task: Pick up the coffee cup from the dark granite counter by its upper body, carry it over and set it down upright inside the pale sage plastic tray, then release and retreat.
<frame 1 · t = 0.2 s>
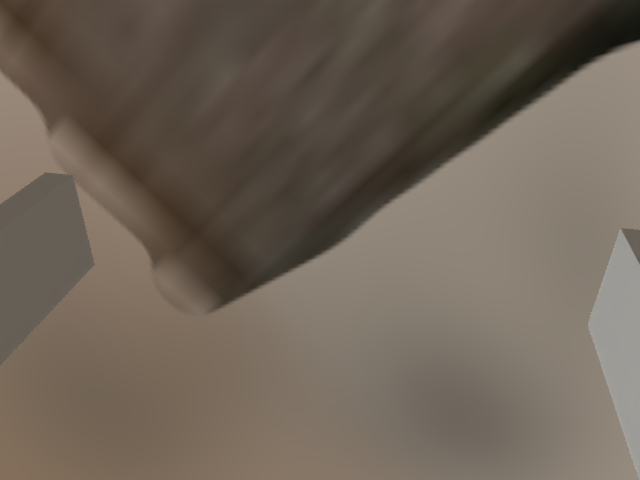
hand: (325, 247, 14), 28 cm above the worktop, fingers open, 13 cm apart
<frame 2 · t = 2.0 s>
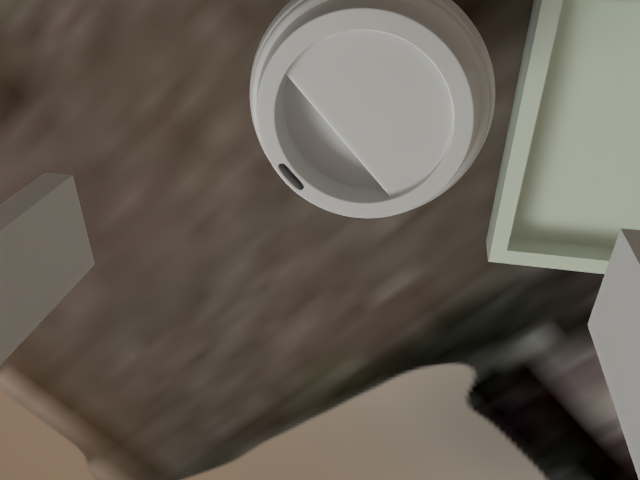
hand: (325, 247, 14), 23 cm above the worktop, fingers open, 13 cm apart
coffee cup: (392, 32, 33), on the worktop
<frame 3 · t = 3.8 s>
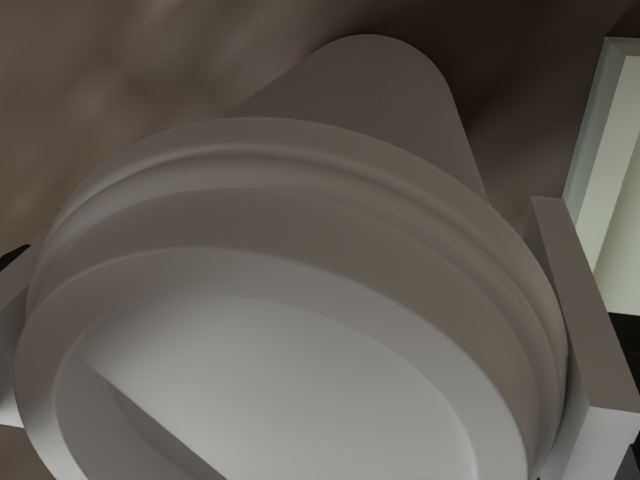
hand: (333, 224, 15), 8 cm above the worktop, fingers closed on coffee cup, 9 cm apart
coffee cup: (367, 121, 21), on the worktop, touching gripper
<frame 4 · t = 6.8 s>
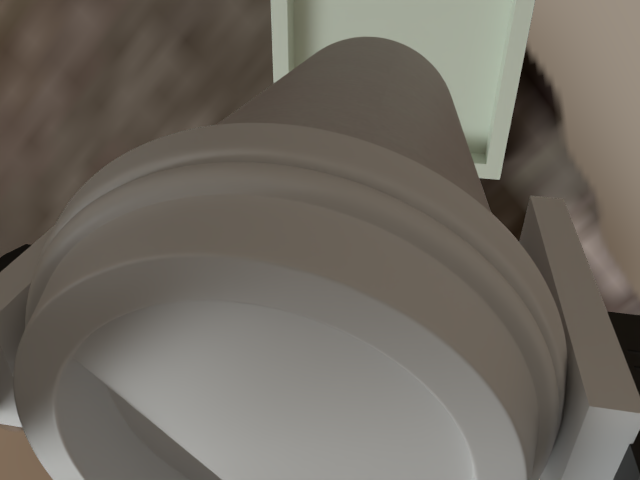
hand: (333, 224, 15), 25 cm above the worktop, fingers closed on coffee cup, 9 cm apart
coffee cup: (367, 124, 21), point 17 cm above the worktop, touching gripper
tray: (397, 29, 35), on the worktop
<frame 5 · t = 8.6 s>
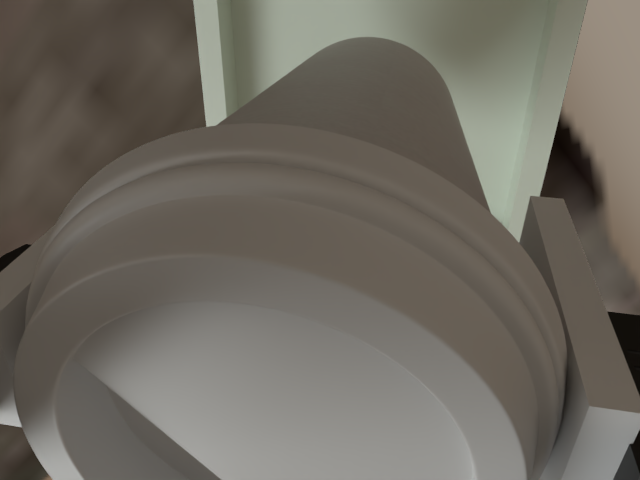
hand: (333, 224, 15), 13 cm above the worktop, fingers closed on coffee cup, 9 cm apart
coffee cup: (367, 124, 21), point 5 cm above the worktop, touching gripper
tray: (378, 80, 26), on the worktop
when the fingers open (9 cm above the worktop, at t = 9.9 s): coffee cup drops 1 cm, resting on tray.
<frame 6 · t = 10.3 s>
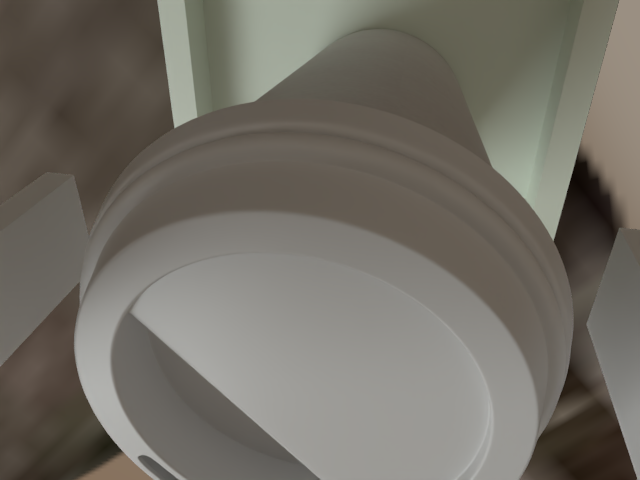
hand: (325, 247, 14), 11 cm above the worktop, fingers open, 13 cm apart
coffee cup: (378, 113, 22), point 1 cm above the worktop, touching tray
tray: (372, 107, 23), on the worktop
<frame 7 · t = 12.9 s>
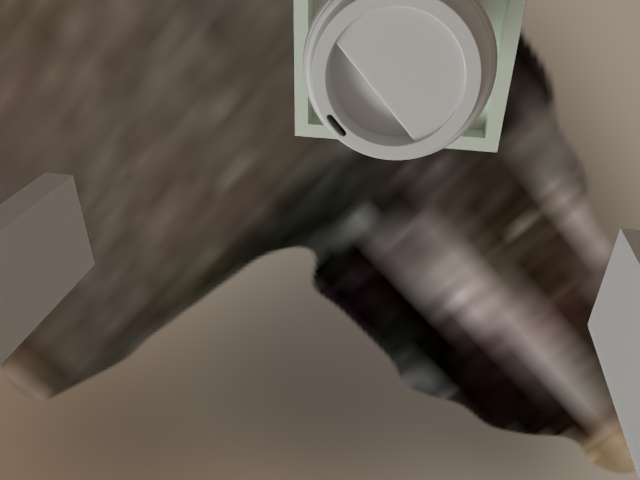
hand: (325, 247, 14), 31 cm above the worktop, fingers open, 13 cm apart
coffee cup: (410, 18, 39), point 1 cm above the worktop, touching tray
tray: (406, 16, 39), on the worktop
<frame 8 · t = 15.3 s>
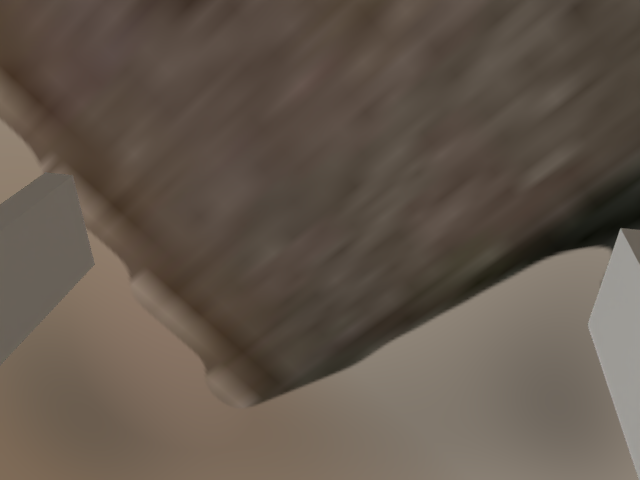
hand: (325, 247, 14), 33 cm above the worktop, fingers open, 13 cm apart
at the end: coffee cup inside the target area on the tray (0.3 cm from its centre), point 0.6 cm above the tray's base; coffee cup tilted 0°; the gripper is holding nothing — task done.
